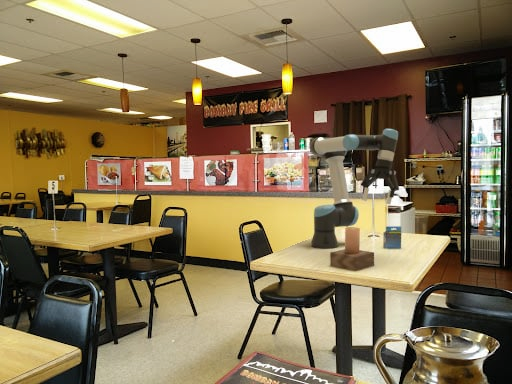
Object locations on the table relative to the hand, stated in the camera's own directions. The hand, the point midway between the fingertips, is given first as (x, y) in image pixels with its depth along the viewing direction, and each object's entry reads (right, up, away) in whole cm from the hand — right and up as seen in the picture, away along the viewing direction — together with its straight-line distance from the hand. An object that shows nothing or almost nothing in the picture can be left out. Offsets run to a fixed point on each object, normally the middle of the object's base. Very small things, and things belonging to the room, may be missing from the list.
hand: (375, 202), depth 204 cm
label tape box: (+17, -26, +26) cm, 41 cm away
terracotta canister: (-15, -22, -16) cm, 31 cm away
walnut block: (-15, -28, -16) cm, 36 cm away
